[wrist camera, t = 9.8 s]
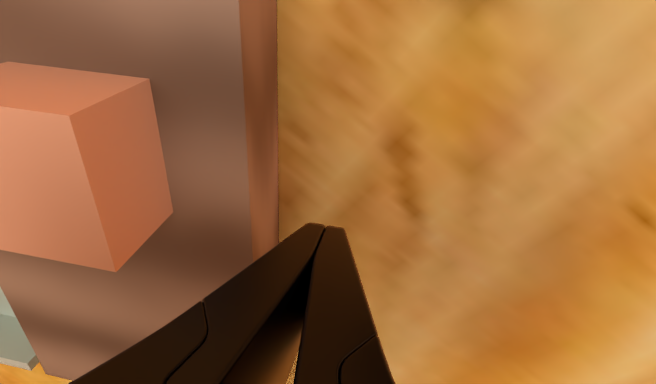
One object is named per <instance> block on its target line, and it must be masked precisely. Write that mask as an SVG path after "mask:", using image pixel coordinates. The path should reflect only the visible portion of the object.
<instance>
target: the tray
mask: <svg viewBox="0 0 656 384" xmlns="http://www.w3.org/2000/svg"><path fill="white" fill-rule="evenodd" d="M0 363H2V364H6V365H10V366H14V367H18V368H22V369H27V370H32V369H33V368H34V367H35V366H36V365H37V364H38V363H39V360H38V358H37V356H36V354H35V352H34V350H33V348H32V346H31V344H30V342H29V341H28V339H27V337H26V335H25V333H24V331H23V329H22V327H21V325H20V323H19V321H18V320H17V318H16V316H15V314H14V312H13V310H12V308H11V306H10V304H9V302H8V300H7V299H6V297H5V295H4V293H3V291H2V289H1V287H0Z"/></svg>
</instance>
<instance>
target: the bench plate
mask: <svg viewBox="0 0 656 384" xmlns="http://www.w3.org/2000/svg"><path fill="white" fill-rule="evenodd" d="M4 62H16V63H24V64H32V65H41V66H49V67H57V68H65V69H74V70H82V71H90V72H98V73H107V74H115V75H123V76H131V77H140V78H148V79H150V85H151V90H152V96H153V102H154V107H155V113H156V118H157V124H158V129H159V135H160V141H161V146H162V152H163V157H164V163H165V168H166V174H167V180H168V185H169V191H170V196H171V202H172V207H173V213H172V214H171V215H170V216H169V217H168V218H167V219H166V220H165V221H164V222H163V223H162V224H161V226H160V227H159V228H158V229H157V230H156V231H155V232H154V233H153V234H152V235H151V236H150V237H149V238H148V239H147V240H146V241H145V242H144V243H143V244H142V246H141V247H140V248H139V249H138V250H137V251H136V252H135V253H134V254H133V255H132V256H131V257H130V258H129V259H128V260H127V261H126V262H125V263H124V264H123V266H122V267H121V268H120V269H119V270H118V271H117V272H112V271H107V270H102V269H97V268H92V267H87V266H82V265H76V264H71V263H66V262H61V261H56V260H51V259H46V258H40V257H35V256H30V255H25V254H20V253H15V252H10V251H4V250H0V287H1V289H2V291H3V293H4V295H5V297H6V299H7V300H8V302H9V304H10V306H11V308H12V310H13V312H14V314H15V316H16V318H17V320H18V321H19V323H20V325H21V327H22V329H23V331H24V333H25V335H26V337H27V339H28V341H29V342H30V344H31V346H32V348H33V350H34V352H35V354H36V356H37V358H38V360H39V362H40V363H41V365H42V367H43V369H44V371H45V373H46V374H48V375H52V376H56V377H60V378H64V379H69V380H73V381H74V380H75V379H77V378H79V377H80V376H82V375H84V374H86V373H87V372H89V371H91V370H92V369H94V368H96V367H97V366H99V365H101V364H102V363H104V362H106V361H107V360H109V359H111V358H113V357H114V356H116V355H118V354H119V353H121V352H123V351H124V350H126V349H128V348H129V347H131V346H133V345H134V344H136V343H138V342H139V341H141V340H142V339H144V338H146V337H147V336H149V335H151V334H152V333H154V332H155V331H157V330H159V329H160V328H162V327H163V326H165V325H166V324H168V323H169V322H171V321H172V320H174V319H175V318H176V317H178V316H179V315H181V314H182V313H184V312H185V311H187V310H188V309H189V308H191V307H192V306H193V305H195V304H196V303H198V302H199V301H202V300H203V298H205V297H206V296H207V295H209V294H210V293H212V292H213V291H214V290H216V289H217V288H219V287H220V286H221V285H223V284H224V283H225V282H227V281H228V280H230V279H231V278H232V277H234V276H235V275H236V274H238V273H239V272H241V271H242V270H243V269H245V268H246V267H248V266H249V265H250V264H252V263H253V262H254V261H256V260H257V259H259V258H260V257H261V256H263V255H264V254H265V253H267V252H268V251H270V250H271V249H272V248H274V247H275V246H276V245H278V244H279V213H278V103H277V0H0V64H1V63H4ZM202 302H203V301H202Z"/></svg>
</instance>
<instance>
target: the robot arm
mask: <svg viewBox="0 0 656 384" xmlns="http://www.w3.org/2000/svg"><path fill="white" fill-rule="evenodd" d="M202 301H203V302H202ZM202 301H199V302H198V303H196V304H195V305H193V306H192V307H191V308H189V309H188V310H187V311H185V312H184V313H182V314H181V315H179V316H178V317H176V318H175V319H174V320H172V321H171V322H169V323H168V324H166V325H165V326H163V327H162V328H160V329H159V330H157V331H155V332H154V333H152V334H151V335H149V336H147V337H146V338H144V339H142V340H141V341H139V342H138V343H136V344H134V345H133V346H131V347H129V348H128V349H126V350H124V351H123V352H121V353H119V354H118V355H116V356H114V357H113V358H111V359H109V360H107V361H106V362H104V363H102V364H101V365H99V366H97V367H96V368H94V369H92V370H91V371H89V372H87V373H86V374H84V375H82V376H80V377H79V378H77V379H75V380H74V381H72V382H70V383H69V384H286V381H287V379H288V376H289V373H290V371H291V368H292V365H293V363H294V360H295V357H296V355H297V352H298V349H299V352H298V358H297V365H296V371H295V378H294V384H395V382H394V379H393V377H392V374H391V372H390V369H389V366H388V363H387V360H386V358H385V355H384V352H383V349H382V346H381V342H380V339H379V337H378V334H377V330H376V327H375V324H374V321H373V318H372V314H371V311H370V308H369V305H368V302H367V299H366V295H365V292H364V289H363V286H362V283H361V280H360V276H359V273H358V270H357V267H356V264H355V260H354V257H353V254H352V251H351V248H350V245H349V241H348V238H347V235H346V232H345V230H344V228H341V227H334V226H327V227H325V225H322V224H316V223H307V224H305V225H304V226H303V227H301V228H300V229H299V230H297V231H296V232H294V233H293V234H292V235H290V236H289V237H288V238H286V239H285V240H283V241H282V242H281V243H279V244H278V245H276V246H275V247H274V248H272V249H271V250H270V251H268V252H267V253H265V254H264V255H263V256H261V257H260V258H259V259H257V260H256V261H254V262H253V263H252V264H250V265H249V266H248V267H246V268H245V269H243V270H242V271H241V272H239V273H238V274H236V275H235V276H234V277H232V278H231V279H230V280H228V281H227V282H225V283H224V284H223V285H221V286H220V287H219V288H217V289H216V290H214V291H213V292H212V293H210V294H209V295H207V296H206V297H205V298H203V300H202Z"/></svg>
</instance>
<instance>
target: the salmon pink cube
mask: <svg viewBox="0 0 656 384" xmlns="http://www.w3.org/2000/svg"><path fill="white" fill-rule="evenodd" d="M172 213H173V207H172V202H171V196H170V191H169V185H168V180H167V174H166V168H165V163H164V157H163V152H162V146H161V141H160V135H159V129H158V124H157V118H156V113H155V107H154V102H153V96H152V90H151V85H150V79H148V78H140V77H131V76H123V75H115V74H107V73H98V72H90V71H82V70H74V69H65V68H57V67H49V66H41V65H32V64H24V63H16V62H4V63H1V64H0V250H4V251H10V252H15V253H20V254H25V255H30V256H35V257H40V258H46V259H51V260H56V261H61V262H66V263H71V264H76V265H82V266H87V267H92V268H97V269H102V270H107V271H112V272H117V271H118V270H119V269H120V268H121V267H122V266H123V264H124V263H125V262H126V261H127V260H128V259H129V258H130V257H131V256H132V255H133V254H134V253H135V252H136V251H137V250H138V249H139V248H140V247H141V246H142V244H143V243H144V242H145V241H146V240H147V239H148V238H149V237H150V236H151V235H152V234H153V233H154V232H155V231H156V230H157V229H158V228H159V227H160V226H161V224H162V223H163V222H164V221H165V220H166V219H167V218H168V217H169V216H170V215H171V214H172Z"/></svg>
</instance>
